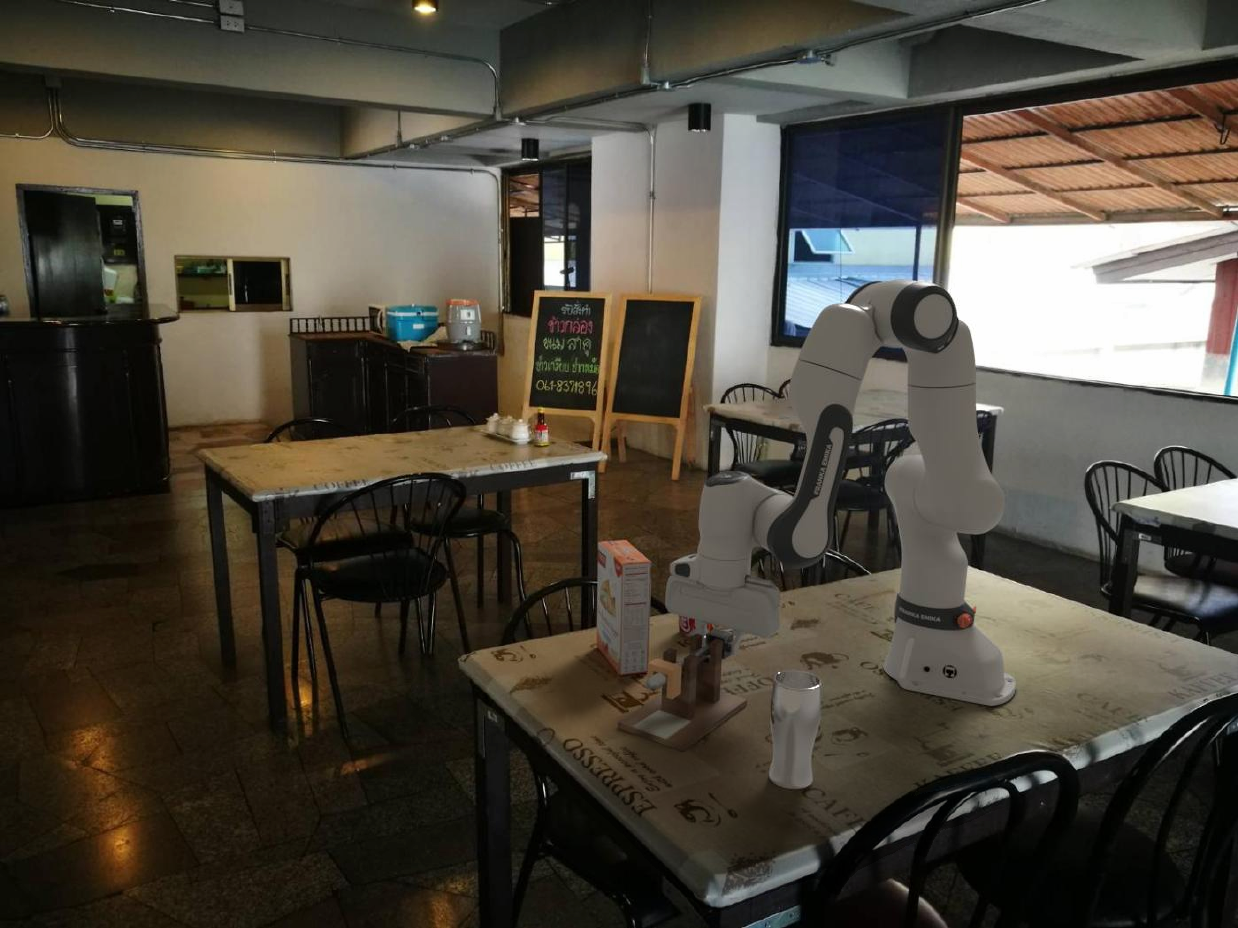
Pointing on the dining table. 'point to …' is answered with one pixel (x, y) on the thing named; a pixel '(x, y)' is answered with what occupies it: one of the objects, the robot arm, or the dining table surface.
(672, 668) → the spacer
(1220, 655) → the dining table surface
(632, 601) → the cracker box
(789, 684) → the beer glass
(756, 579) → the robot arm
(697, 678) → the stand
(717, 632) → the shaft
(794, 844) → the dining table surface
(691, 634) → the soda can
